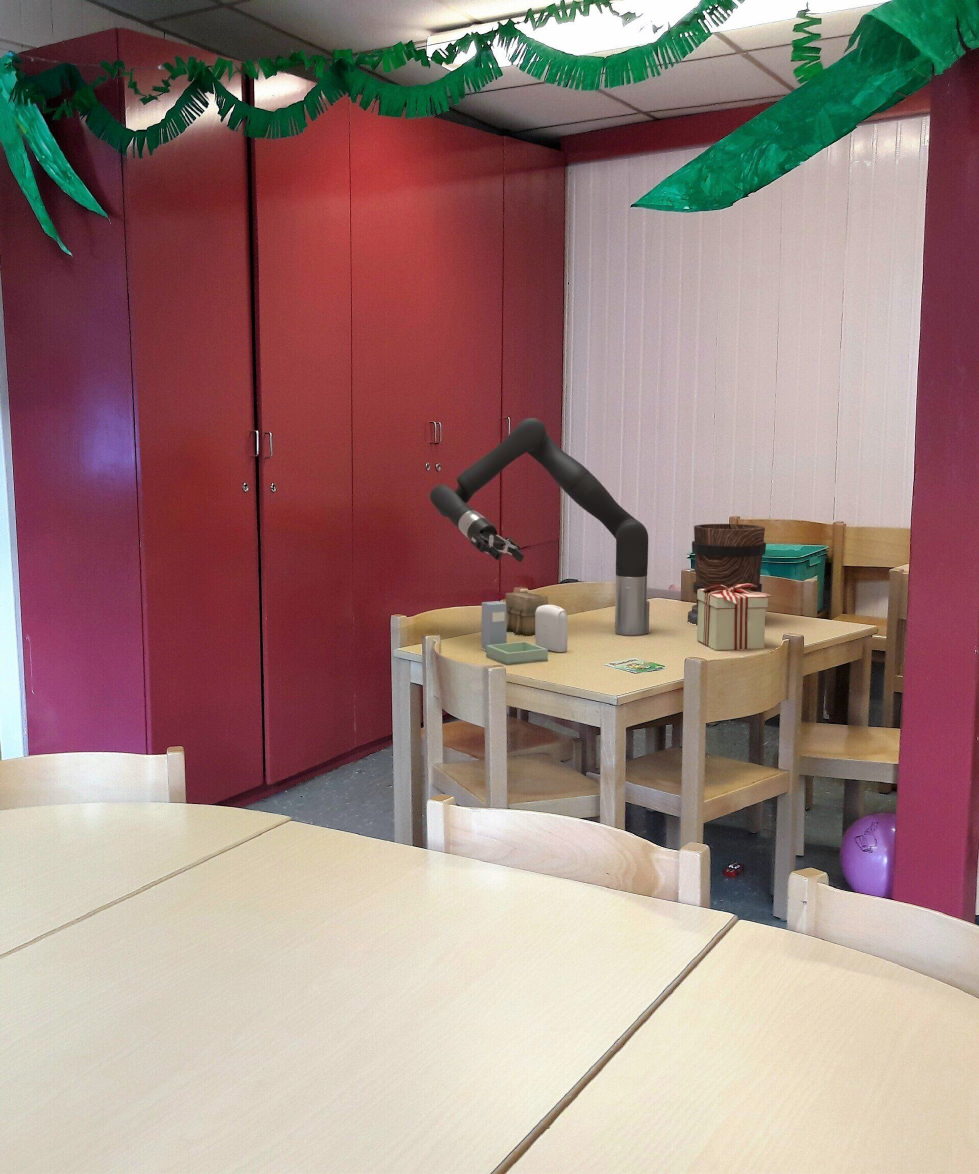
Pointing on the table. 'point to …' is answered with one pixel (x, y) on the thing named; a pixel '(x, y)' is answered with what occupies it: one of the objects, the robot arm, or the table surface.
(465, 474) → the robot arm
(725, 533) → the wooden barrel
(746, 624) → the gift box
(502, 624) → the box
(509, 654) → the tray
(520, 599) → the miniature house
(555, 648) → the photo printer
